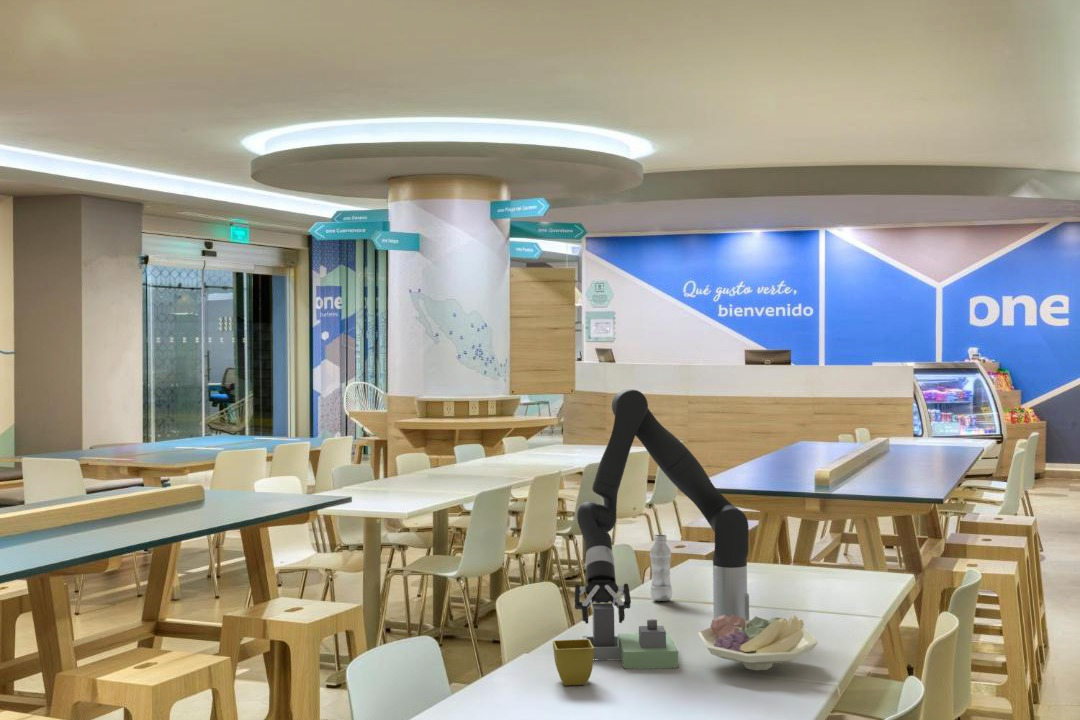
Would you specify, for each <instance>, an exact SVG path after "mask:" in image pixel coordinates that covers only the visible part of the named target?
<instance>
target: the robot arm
mask: <svg viewBox="0 0 1080 720" xmlns="http://www.w3.org/2000/svg"><path fill="white" fill-rule="evenodd" d="M611 411H612V414H613V415H614V420H613V426H612V430H611V431H612V432H611V434H610V437H609V441H608V443H607V446H606V448H605V449H604V452H603V454H602V456H601V459H600V461H599V464H598V467H597V470H596V473H595V477H594V481H593V483H592V492H593V493H594V494H597V495H598V496H600V497H602V499H603V504H601V503H600V504H599V503H596V502H593V501H584V502H582V503H581V505H580V506H579V508H578V509H577V512H576V513H577V515H576V517H577V518H576V519H577V524H578V527H579V529H580V532H581V535H582V537H583V540H584V543H585V566H584V567H585V574H586V585H585V586H581V585H580V584H578V583H577V584H575V586H574V609H575V610H580V611H581V615H582V616H581V618H582V621H583V622H584V623H585V624H586V625H587V624H589V608H590V607H592V604H594V603H595V604H602V603H612V604H613V607H616V608H617V612H618V623H619V624H622V623H623V621H625V618H626V615H625V614H626V613H625V609H631V603H632V601H631V600H632V599H631V594H630V588H629V587H630V586H629V584H628V583H624V584H623V585H617V583H616V582H617V581H616V567H615V558H614V554H613V543H612V536H611V535H610V534H609V532H611V531H612V530H613V528H614V527H615V526H616V522H617V510H618V509H617V506H618V504H617V503H618V493H619V489H620V486H621V482H622V479H623V476H624V473H625V469H626V465H627V462H628V459H629V454H630V452H631V449H632V446H633V442H634V440H635V438H637V439H638V440H639V442H641V445H643V447H644V448H645V450H646V451H647V452H648V454H649V456H650V457H651V458H652V460H653V461H654V462H655V464H657V466H658V467H659V469H660V470H661V471H662V472H663V473H664V475H665V476H666V477H667V478H668V480H670V482H671V483H672V484H673V485H675V487H676V488H677V489H678V490H679V491H680V492H681V493H682V494H683V495H685V496H686V497H687V498H688V499H689V500H690V501H691V502H692V503H693V504H694V505H695V506H696V508H698V510H699V511H700V513H701V514H702V515H703V516H704V518H705V520H706V521H707V523H708V524H709V526H710V527H711V529H712V531H713V532H714V550H713V551H714V552H713V554H712V591H713V592H712V593H713V594H712V596H713V599H712V600H713V602H712V603H713V619H715V618H716V617H718V616H722V615H726V616H728V617H731V616H732V615H734V616H737V617H740V618H743V619H745V621H747V620H750V594H749V593H748V558H749V557H748V556H749V535H750V533H749V532H750V531H749V529H750V528H749V520H748V518H747V516H746V514H745V513H744V512H743V511H742V510H740V509H739V508H738V507H736V506H735V505H733V504H732V502H730V501H729V500H728V499H727V498H726V497H725V496H724V495H723V494H722V493H721V492H720V491H719V490H718V489H717V488H716V487H715V485H714V484H713V483H712V480H711V479H710V477H709V476H708V474H707V471H706V470H705V469H704V468H703V466H702V465H701V463H700V462H699V461H698V459H697V457H695V455H693V453H692V452H691V451H690V450H689V448H688V447H687V446H685V444H684V443H683V442H682V441H680V440H679V439H678V438H677V437H676V435H674V434H672V433H671V432H670V430H668V429H666V428H665V427H664V426H663V425H662V424H661V423H660V422H659V420H658V419H656V416H654V414H653V412H651V410H650V409H649V403H648V399H647V398H646V395H644V394H643V392H642V391H639V390H638V389H637V390H636V389H624V390H621V391H619V392H618V393H616V394H615V395H614V397H613V399H612V402H611ZM584 593H585V594H586V595H587V596H586V598H585V599H584V600H583V602H582V601H581V600H580V598H581V596H583V594H584ZM618 593H620V594H621V595H622V596H623V598H624V601H623V600H622V598H620V596H619V595H618Z"/></svg>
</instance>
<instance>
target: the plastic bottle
mask: <svg viewBox="0 0 1080 720" xmlns="http://www.w3.org/2000/svg"><path fill="white" fill-rule="evenodd" d="M667 541H668V540H667V535H666V534H655V535H653V542H654V544H653V545H652V546H651V548H650V549H649V557H650V565H651V586H650V592H649V593H650V598H651V599H652V600H653V601H656V602H660V601H663V602H667V601H670V600H672V598H673V589H672V583H671V575H670V574H671V571H670V570H671V559H672V551H671V549H670V547H669V545H668V544H667Z"/></svg>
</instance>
